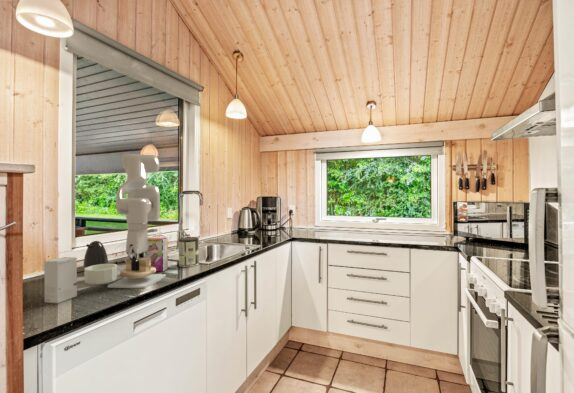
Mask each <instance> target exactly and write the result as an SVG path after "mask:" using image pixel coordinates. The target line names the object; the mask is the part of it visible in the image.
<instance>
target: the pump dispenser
mask: <svg viewBox="0 0 574 393" xmlns="http://www.w3.org/2000/svg"><path fill="white" fill-rule="evenodd" d="M86 248H87V249H86V251H85V252H84V253H85V254H84V258H83V266H82V267H83V268H84V269H85V268H86V267H89V266H93V265H98V264H109V258H108V254H107V250H106V249H105V246H104V244H103V243H102V242H101V241H99V240H93V241H91V242H90V243H89V244H88V243H87V244H86Z"/></svg>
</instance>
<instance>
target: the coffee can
mask: <svg viewBox="0 0 574 393" xmlns="http://www.w3.org/2000/svg"><path fill="white" fill-rule="evenodd" d="M199 255H200V254H199V237H198V236H197V237H196V236H187V237H186V236H185V237H180V238H178V266H179V267H182V268H190V267H191V268H192V267H196V266H198V265H200V264H199V262H200V261H199Z"/></svg>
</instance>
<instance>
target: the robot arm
mask: <svg viewBox="0 0 574 393" xmlns="http://www.w3.org/2000/svg"><path fill="white" fill-rule="evenodd" d="M121 158H122V159H121V163H122V167H123V169H124V171H125V173H126V176H127V177H126V181H125V182H123V183H122V184H121V185H120V186H119V188H117V191H116V196H115V199H116V201H115V209H116V212H117V213H118V214H119V215H123V216H125V218H126V224H127V227H126V228H127V233H126V235H127V236H126V244H125V245H126V246H125V251H126V252H125V253H126V254H127V258H125V259H124V262H125V263H126V259H128V258H130V259H131V270H132V271H138V270H139V261H138V258H146V253H147V251H148V237H149V234H148V229H149V228H148V222H154V221H155V222H156V221H158V220H160V217H161V193H160V189H159V186H157V185H153V184H148V185H147V182H148V177H147V176H148V175H147V173H153V174H156V173H158V172H159V170H160V160H159V157H158V156H157V155H155V154H142V153H141V154H140V153H127V154H124V155H122V157H121ZM127 194H128V196H127V197H125V196H126V195H127Z"/></svg>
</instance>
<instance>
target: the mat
mask: <svg viewBox="0 0 574 393" xmlns="http://www.w3.org/2000/svg"><path fill="white" fill-rule="evenodd" d="M165 277H167V274H164V273H160V274H158V273H153V274H151V275H149V276H146V277H142V278H127V277H123V278H120V279H117V281H116V280H115V281H113V282H111V283H110V284H108V285H107V288H112V289H143V290H144V289H147V288H148V287H150V286H152V285H154V284H155V283H157V282H159V281H160V280H162V279H163V278H165Z"/></svg>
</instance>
